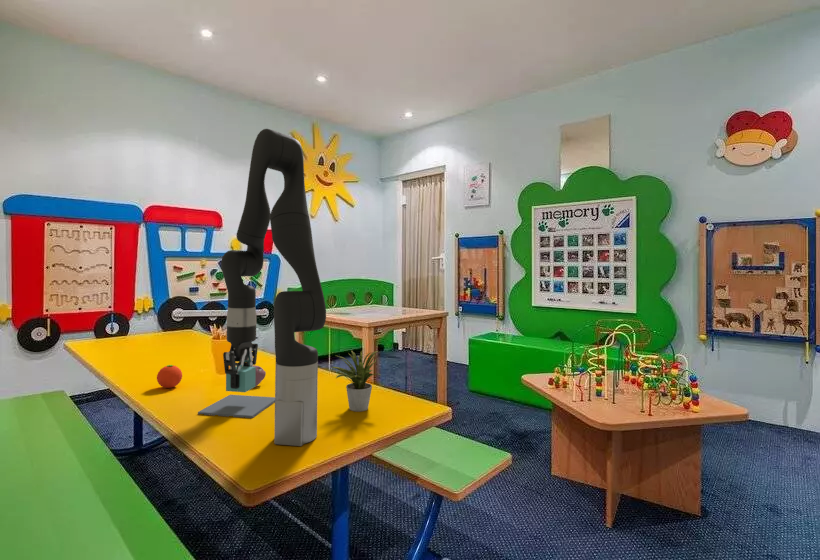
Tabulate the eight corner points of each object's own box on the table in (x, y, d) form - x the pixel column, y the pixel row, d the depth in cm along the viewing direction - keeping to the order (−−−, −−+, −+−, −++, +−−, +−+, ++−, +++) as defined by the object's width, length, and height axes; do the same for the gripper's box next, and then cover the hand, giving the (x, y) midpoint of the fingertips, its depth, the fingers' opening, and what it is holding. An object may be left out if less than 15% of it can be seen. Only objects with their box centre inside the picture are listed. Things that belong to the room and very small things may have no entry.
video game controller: (261, 391, 134) (270, 370, 136) (249, 387, 130) (258, 366, 133) (246, 385, 140) (255, 365, 142) (234, 381, 137) (244, 361, 139)
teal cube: (245, 392, 111) (245, 371, 111) (225, 391, 112) (226, 370, 112) (255, 386, 117) (255, 367, 116) (237, 385, 117) (237, 365, 117)
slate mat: (252, 418, 106) (252, 415, 106) (197, 414, 108) (197, 412, 108) (278, 399, 121) (278, 397, 121) (230, 396, 123) (230, 394, 123)
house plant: (354, 395, 126) (355, 342, 125) (394, 403, 119) (395, 347, 119) (323, 409, 113) (324, 349, 113) (365, 419, 107) (366, 355, 106)
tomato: (156, 385, 133) (156, 363, 132) (181, 382, 136) (181, 360, 136) (156, 392, 126) (156, 368, 126) (182, 388, 129) (182, 366, 129)
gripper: (240, 328, 106) (239, 393, 107) (267, 320, 120) (266, 378, 121) (213, 326, 107) (212, 392, 108) (242, 319, 121) (242, 377, 122)
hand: (241, 384), depth 114 cm, fingers closed on teal cube, 5 cm apart
